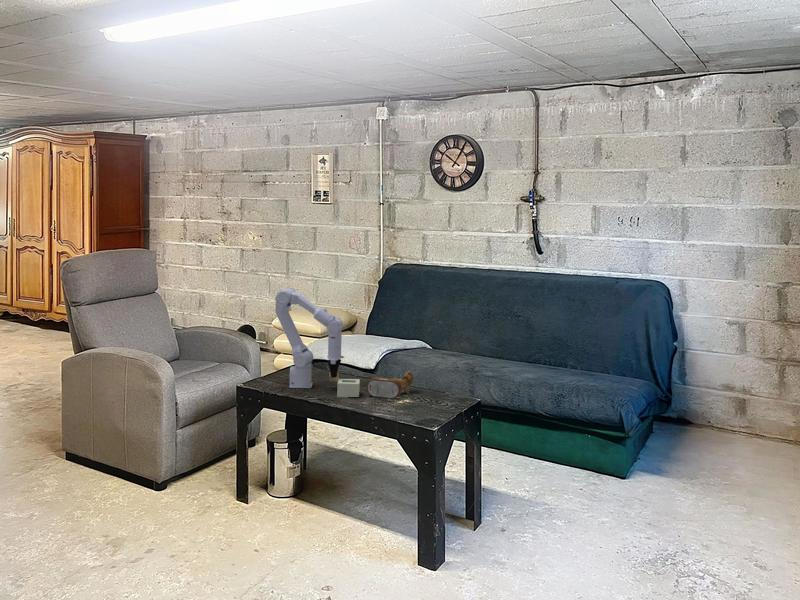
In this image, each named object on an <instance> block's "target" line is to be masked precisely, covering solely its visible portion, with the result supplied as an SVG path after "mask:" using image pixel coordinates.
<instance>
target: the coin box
mask: <svg viewBox="0 0 800 600" xmlns="http://www.w3.org/2000/svg"><path fill="white" fill-rule="evenodd" d="M360 384H361V380H360V378H339V380H338V382H337V386H336V387H337V388H336V389H337V391H336V393H337V394H336V398H348V397H360V393H359V392H360V387H361V386H360Z"/></svg>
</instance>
